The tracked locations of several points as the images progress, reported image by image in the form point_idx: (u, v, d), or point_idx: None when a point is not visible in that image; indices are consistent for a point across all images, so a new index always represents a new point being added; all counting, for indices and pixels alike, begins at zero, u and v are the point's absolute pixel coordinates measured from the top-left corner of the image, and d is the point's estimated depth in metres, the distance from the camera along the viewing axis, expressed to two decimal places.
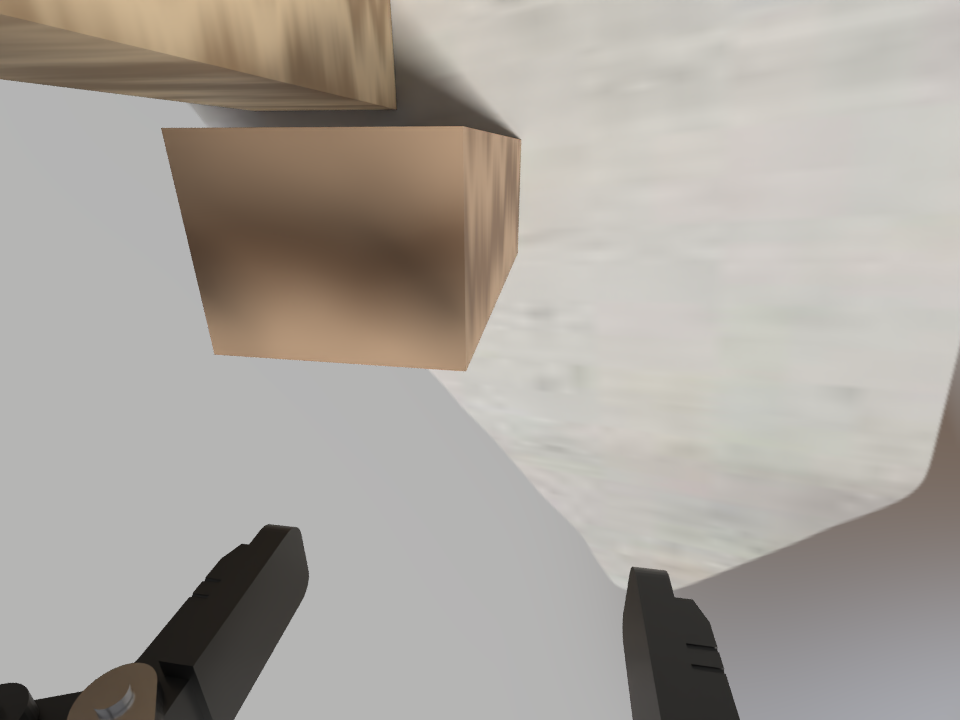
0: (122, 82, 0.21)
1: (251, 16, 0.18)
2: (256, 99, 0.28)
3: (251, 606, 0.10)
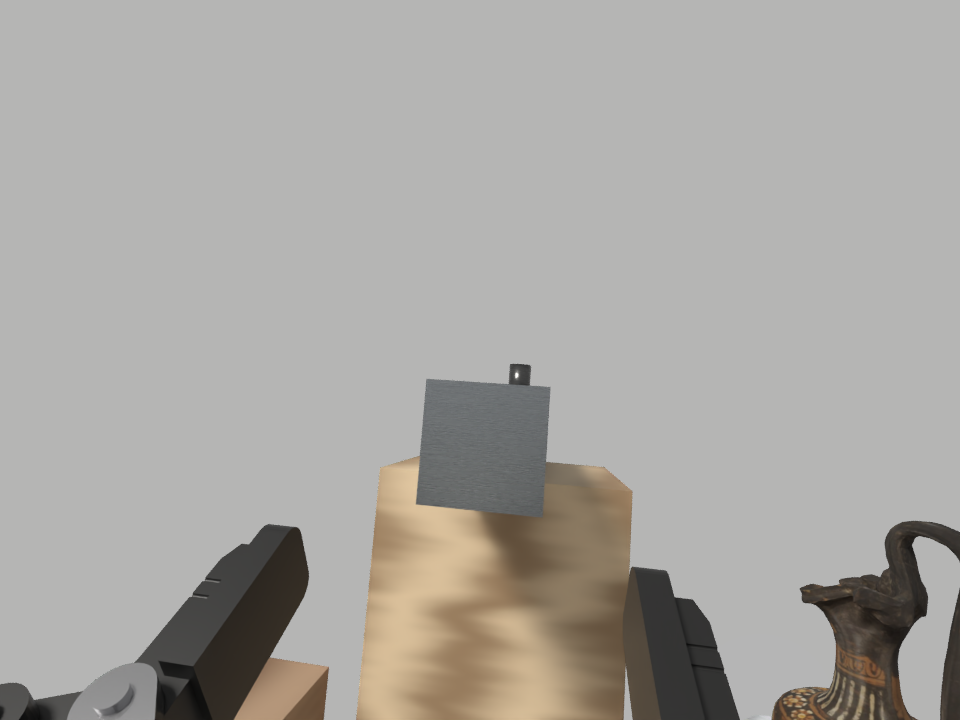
0: None
1: None
2: None
3: (251, 606, 0.10)
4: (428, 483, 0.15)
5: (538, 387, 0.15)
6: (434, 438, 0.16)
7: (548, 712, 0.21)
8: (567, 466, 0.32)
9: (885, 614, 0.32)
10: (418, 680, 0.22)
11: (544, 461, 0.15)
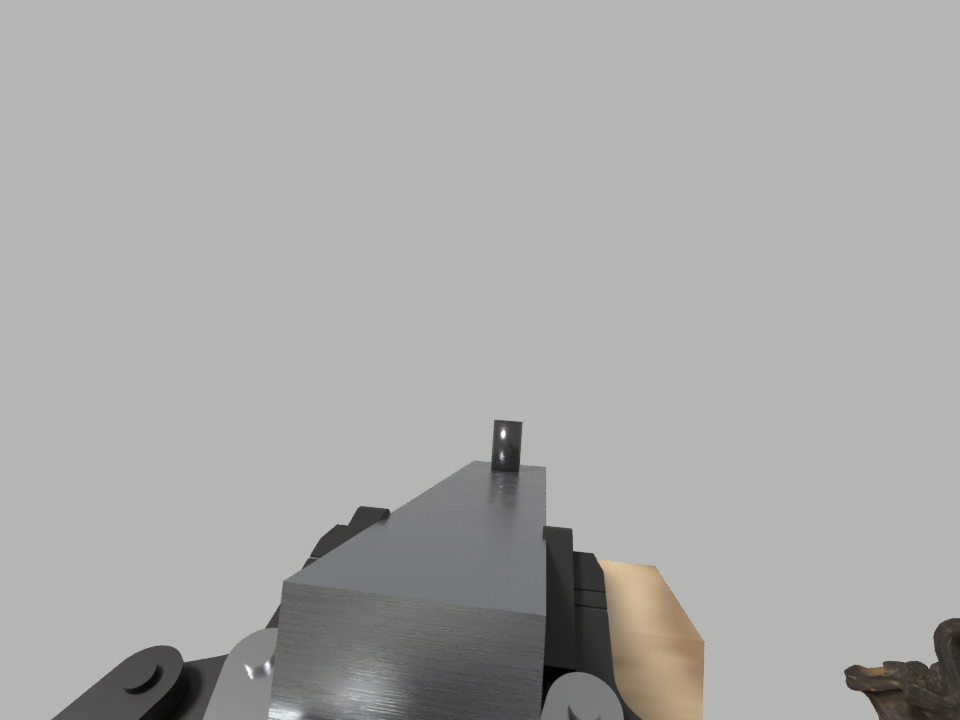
0: None
1: None
2: None
3: None
4: None
5: (520, 614, 0.07)
6: (295, 717, 0.07)
7: None
8: (620, 570, 0.32)
9: (936, 713, 0.32)
10: None
11: None
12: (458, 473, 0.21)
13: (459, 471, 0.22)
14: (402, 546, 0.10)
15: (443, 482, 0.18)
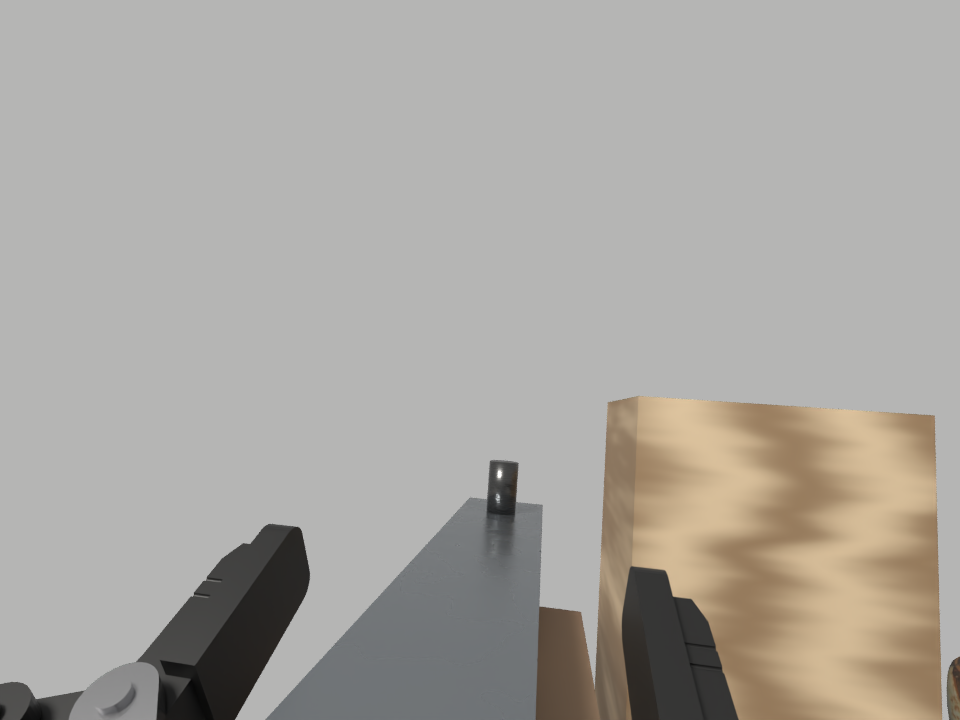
0: (604, 677, 0.27)
1: None
2: None
3: (252, 606, 0.10)
4: None
5: None
6: None
7: (851, 653, 0.20)
8: None
9: None
10: None
11: None
12: (453, 520, 0.21)
13: (454, 517, 0.22)
14: (388, 654, 0.09)
15: (437, 537, 0.18)
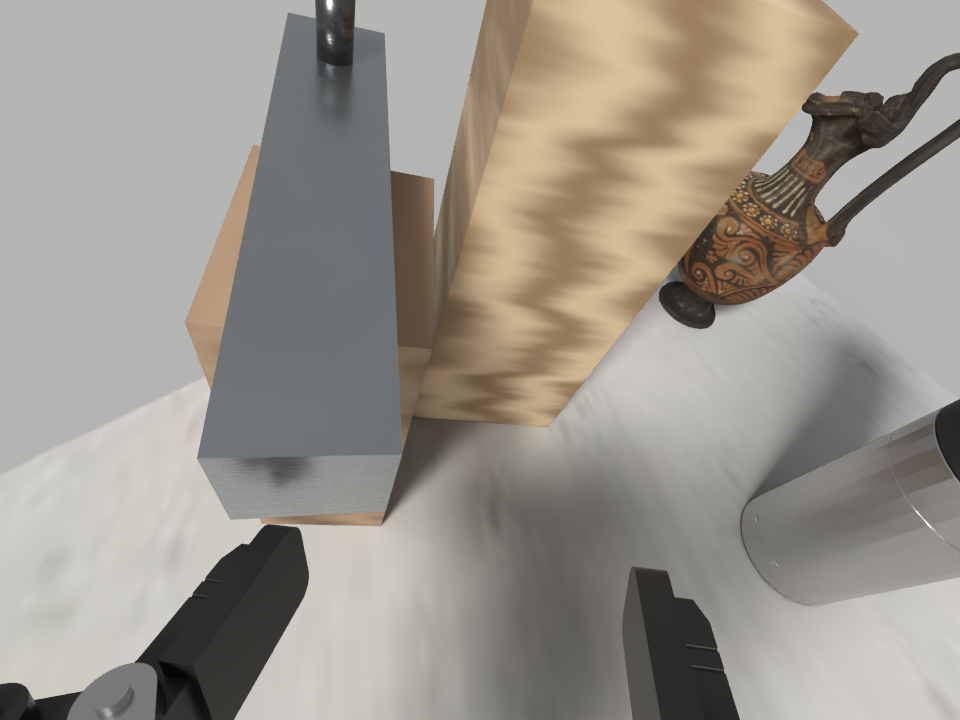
0: (450, 201, 0.31)
1: (490, 275, 0.27)
2: None
3: (251, 606, 0.10)
4: (241, 510, 0.12)
5: (385, 454, 0.11)
6: (235, 490, 0.11)
7: (642, 228, 0.25)
8: None
9: (873, 136, 0.36)
10: (535, 200, 0.23)
11: (389, 490, 0.12)
12: (278, 86, 0.17)
13: (278, 75, 0.18)
14: (272, 356, 0.11)
15: (268, 133, 0.16)
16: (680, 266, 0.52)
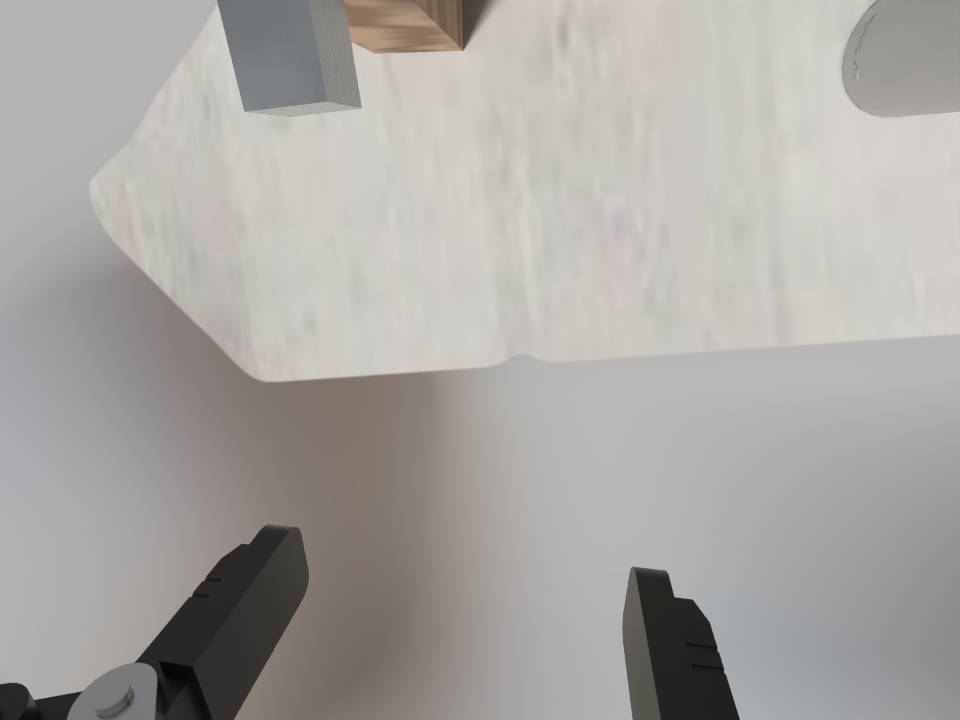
0: None
1: None
2: None
3: (251, 606, 0.10)
4: (289, 115, 0.25)
5: (319, 102, 0.21)
6: (275, 113, 0.23)
7: None
8: None
9: None
10: None
11: (347, 105, 0.23)
12: None
13: None
14: (252, 43, 0.21)
15: None
16: None
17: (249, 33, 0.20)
